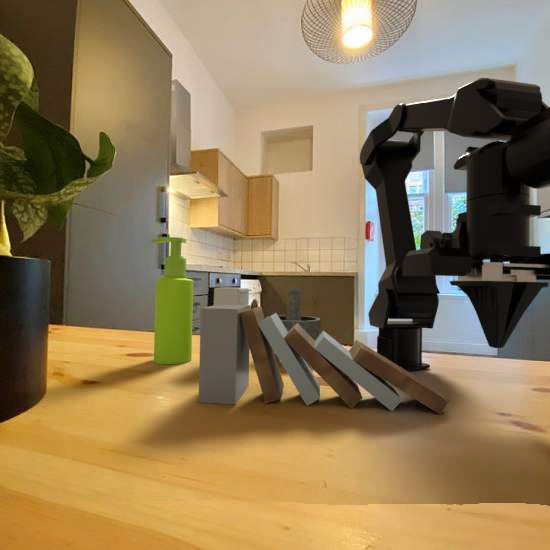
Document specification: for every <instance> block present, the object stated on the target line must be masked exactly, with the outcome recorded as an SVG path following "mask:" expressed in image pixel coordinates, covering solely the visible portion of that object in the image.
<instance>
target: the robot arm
mask: <svg viewBox="0 0 550 550" xmlns="http://www.w3.org/2000/svg"><path fill="white" fill-rule="evenodd" d="M397 132H402V133H411V134H412V136H411V137H410V138H409V141H406V140H397V139H396V140H395V139H391V138H393V137H394V136H395V135H397ZM425 132H448V133H450V134H453V135H458V136H460V137H462V138H463V137H464V138H469V139H471V138H472V139H478V140H479V139H482V140H491V141H492V142H488V143H487V144H484V145H483V146H481V147H478V146H468V147H466V150H465V152H464V153H463V154H462V155H461V156H460V157H459V158H458V159H457V160H456V161H455V163H454V164H453V169H454V170H456V171H466V187H465V188H466V193H465V194H466V196H465V197H466V199H465V201H466V203H465V207H466V209H465V211H463V212H460V213H458V214H457V218H456V223H455V224H456V226H455V229H454V231H452V232H442V231H440V230H429V229H426V230H425V231H424V232H423V233H422V234H421V235H420V240H419V241H420V244H419V249H417V245H416V240H415V234H414V233H415V232H414V226H413V223H412V216H411V214H412V213H411V210H410V204H409V197H408V191H407V185H406V180H407V178H408V177H409V175H410V173H411V171H412V169H413V162H414V160H415V159H416V157H417V156H418V155H419V153H420V152H421V148H422V147H421V145H422V144H421V141H422V139H421V138H422V136H423V134H424V133H425ZM359 153H360V154H359V163H360V165H361V168H362V172H363V176H364V179H365V180H366V181H367V182H368V184H369V185H370V186H371V187H372V188H373V189H374V191H375V194H376V195H375V196H376V202H377V208H378V209H377V211H378V218H379V224H380V232H381V237H382V239H381V240H382V246H383V252H384V253H383V254H384V260H385V268H384V271H383V273H382V275H381V276H380V279H379V280H378V285H377V288H378V289H377V290H378V291H377V292H378V293H377V294H376V295H377V296H376V297H375V299H374V300H373V304H371V307H370V308H369V310H368V320H369V325H370V326H371V327H375V328H378V335H377V337H376V352H377V353H379V354H380V355H382V356H384V357H385V358H387V359H388V360H390V361H392V362H393V363H395V364H397V365H398V366H400V367H401V368H403V369H405V370H406V371H408V372H409V371H415V370H423V369H430V367H431V365H430V364H429V363H425V362H423V329H431V330H432V329H433V328H434V324H435V320H436V316H437V313H438V309H439V303H440V300H439V295H440V289H439V287H438V284H437V278H436V277H437V276H438V277H439V276H441V277H457V280H449V283H450V285H451V286H453V287H454V286H455V287H457V288H459V289H460V290H461V291H462V292H463V293H464V294H465V295H466V296H467V297H468V299H469V300H470V303H471V305H472V306H473V308H474V309H473V310H475V314H476V315H477V318H478V321H479V323H480V326H481V330H482V332H483V333H484V334H483V335H484V336H485V339H486V341H487V344H488V346H489V347H490V348H492V349H493V348H494V349H503V348H505V345H506V343H507V342H508V340H509V339H510V337H511V336H512V333H514V330H515V329H516V327H517V326H518V324H519V322H520V320H521V319H522V317H523V316H524V315H525V312H527V310H528V308H529V307H530V305H531V304H532V302H534V300H535V298H537V296H538V294H539V293H540V292H541V291H542V289H544V288H548V287H549V285H550V282H548V281H550V252H549V253H541V252H542V249H541V246H540V245H539V246H538V245H536V246H535V245H531V243H530V242H531V239H530V238H531V234H530V233H531V232H530V231H531V218H535V217H540V216H541V215H542V214H541V210H542V207H541V206H542V205H539V204H537V205H535V204H531V188H532V189H536V190H537V189H538V190H540V189H545V188H549V187H550V106H549V105H548V104H546V102H544V101H543V93H542V92H541V86H539V85H538V84H534V83H527V82H521V81H520V82H519V81H512V80H506V79H505V80H504V79H498V78H497V79H495V78H489V77H480V78H477V79H475V80H472V81H471V82H469V83H467V84H465V85H462V86H460V87H459V88H458V89H457V90H456V92H455V94H454V95H452V96H450V97H449V96H448V97H443V98H436V99H432V100H431V99H430V100H429V99H428V100H425V101H419V102H412V103H405V102H401V103H400V104H399V103H398V104H396V105H395V106H394V107H393V109H392V111H391V113H390V114H389V116H388V117H387V118H386V119H385V120H383V121H382V122H380V123H379V124H378V125H376V126H375V127H373V128H372V129H371V130H370V132H369V134H368V135H367V138H366V140H365V142H364V143H363V145H362V147H361V149H360V152H359ZM545 281H547V282H545ZM397 319H398V320H397Z"/></svg>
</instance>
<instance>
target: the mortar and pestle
mask: <svg viewBox="0 0 550 550" xmlns="http://www.w3.org/2000/svg"><path fill="white" fill-rule="evenodd" d="M286 293H287V296H288V298H287V299H288V300H287V305H286V306H287V307H286V315H278V317H279V318H280V320H281V322H282V323H283V325H284V327H285V328H286V330H287V331H288V332H289V331H290V330H291V329H292V328H293V327H294V326H295V325H296V324H297V323H298V324H299V325H300V326H301V327H302V328H303V329H304V330H305V331H306V332H307V333H308V334H309V335H310V336H311V337H312V338H313V339H314V340H316V339H317V338H318V337H319V335H320V334H321V323H322V322H321V318H320V317H315V316H308V315H307V316H305V315H302V306H301V305H302V304H301V302H302V301H301V298H302V297H303V291H302V290H301V289H299V288H294V287H293V288H290V289H287V292H286ZM270 316H271V315H270ZM270 316H269V315H268V316H266V317H264V318H265V319H266V318H268V317H270ZM275 356H276V359H277V361H280V360H279V359H278V357H277V355H276V354H275Z"/></svg>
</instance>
